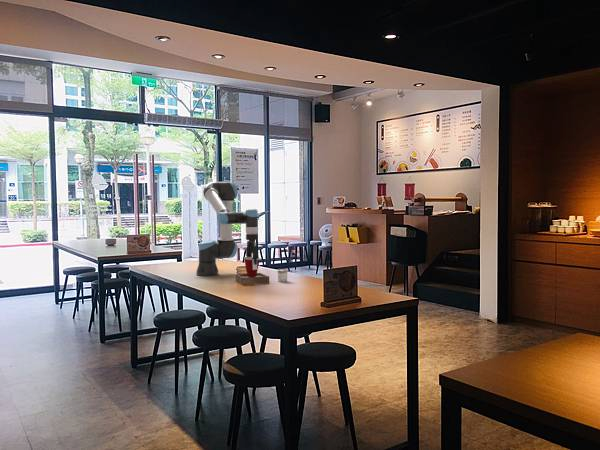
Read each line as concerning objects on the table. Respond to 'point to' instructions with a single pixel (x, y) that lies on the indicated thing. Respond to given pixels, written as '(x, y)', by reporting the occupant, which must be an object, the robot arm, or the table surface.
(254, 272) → the plastic cup
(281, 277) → the ceramic sugar jar
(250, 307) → the table surface
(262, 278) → the walnut riser
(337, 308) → the table surface
